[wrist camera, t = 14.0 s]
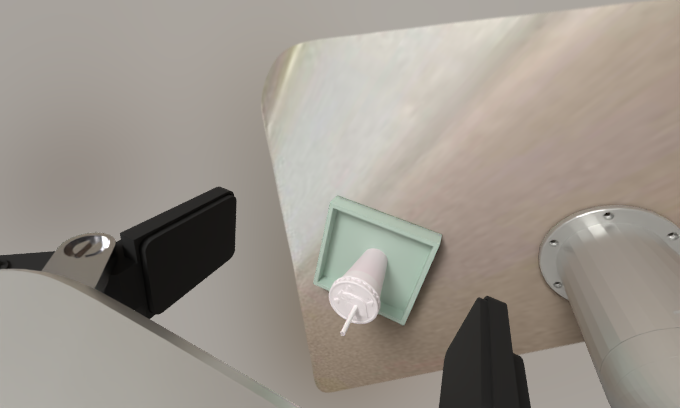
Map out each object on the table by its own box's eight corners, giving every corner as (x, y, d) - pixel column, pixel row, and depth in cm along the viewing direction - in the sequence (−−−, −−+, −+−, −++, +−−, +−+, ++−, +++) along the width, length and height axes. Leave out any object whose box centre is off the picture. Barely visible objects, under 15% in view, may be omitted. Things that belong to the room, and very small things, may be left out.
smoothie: (378, 285, 46) (345, 361, 34) (346, 257, 46) (302, 323, 34) (406, 261, 42) (379, 337, 31) (371, 231, 43) (331, 295, 31)
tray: (441, 234, 39) (439, 244, 37) (407, 313, 47) (403, 325, 45) (337, 195, 43) (329, 202, 41) (320, 274, 50) (313, 283, 48)
